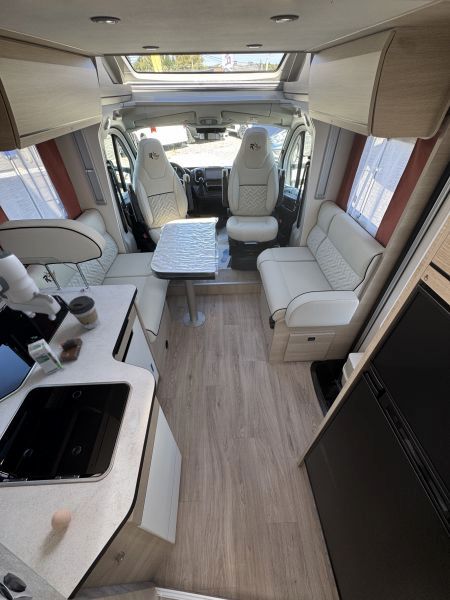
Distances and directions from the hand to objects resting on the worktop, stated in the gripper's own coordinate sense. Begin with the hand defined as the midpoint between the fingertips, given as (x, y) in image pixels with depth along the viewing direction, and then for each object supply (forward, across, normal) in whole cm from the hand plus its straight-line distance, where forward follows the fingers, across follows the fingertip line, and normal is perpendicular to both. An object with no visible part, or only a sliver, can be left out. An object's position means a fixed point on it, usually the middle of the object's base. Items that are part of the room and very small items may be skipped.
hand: (42, 317), depth 102 cm
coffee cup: (+21, -3, -16) cm, 27 cm away
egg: (+21, -39, +54) cm, 69 cm away
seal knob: (+18, -4, +1) cm, 18 cm away
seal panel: (+21, -4, +1) cm, 21 cm away
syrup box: (+21, -1, +9) cm, 23 cm away
